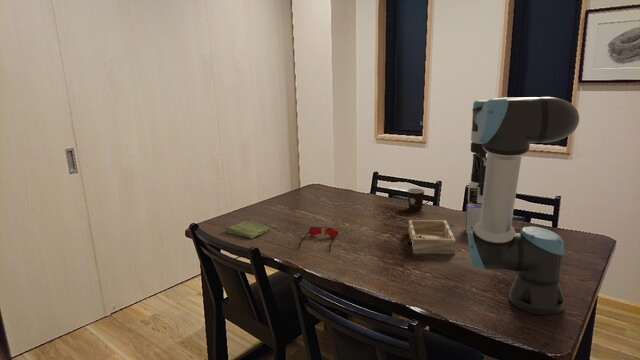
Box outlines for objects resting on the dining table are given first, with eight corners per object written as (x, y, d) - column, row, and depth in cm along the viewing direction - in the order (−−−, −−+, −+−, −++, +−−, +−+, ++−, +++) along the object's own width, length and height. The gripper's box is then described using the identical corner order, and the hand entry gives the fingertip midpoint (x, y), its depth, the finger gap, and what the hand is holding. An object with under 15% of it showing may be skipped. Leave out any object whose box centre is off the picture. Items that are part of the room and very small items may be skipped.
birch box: (454, 254, 166) (455, 240, 165) (413, 253, 168) (413, 239, 167) (445, 232, 187) (445, 220, 186) (408, 232, 189) (408, 220, 188)
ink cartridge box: (487, 229, 189) (489, 198, 185) (490, 234, 184) (492, 202, 180) (464, 228, 191) (466, 198, 187) (466, 233, 186) (467, 202, 182)
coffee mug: (403, 208, 222) (403, 189, 219) (417, 205, 225) (417, 187, 222) (417, 214, 211) (417, 195, 209) (431, 211, 215) (431, 192, 212)
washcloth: (252, 241, 188) (251, 234, 187) (225, 233, 198) (224, 227, 197) (272, 231, 198) (271, 225, 197) (245, 224, 208) (244, 218, 207)
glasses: (339, 238, 187) (339, 227, 186) (329, 253, 172) (329, 242, 171) (309, 235, 191) (308, 225, 190) (297, 250, 176) (296, 239, 175)
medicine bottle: (468, 204, 163) (470, 174, 160) (467, 199, 170) (469, 170, 167) (488, 205, 161) (490, 175, 158) (486, 200, 168) (488, 171, 165)
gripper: (500, 146, 149) (495, 207, 155) (484, 137, 169) (481, 192, 175) (477, 146, 150) (474, 207, 156) (465, 137, 170) (462, 192, 176)
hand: (478, 199), depth 165 cm, fingers closed on medicine bottle, 8 cm apart
